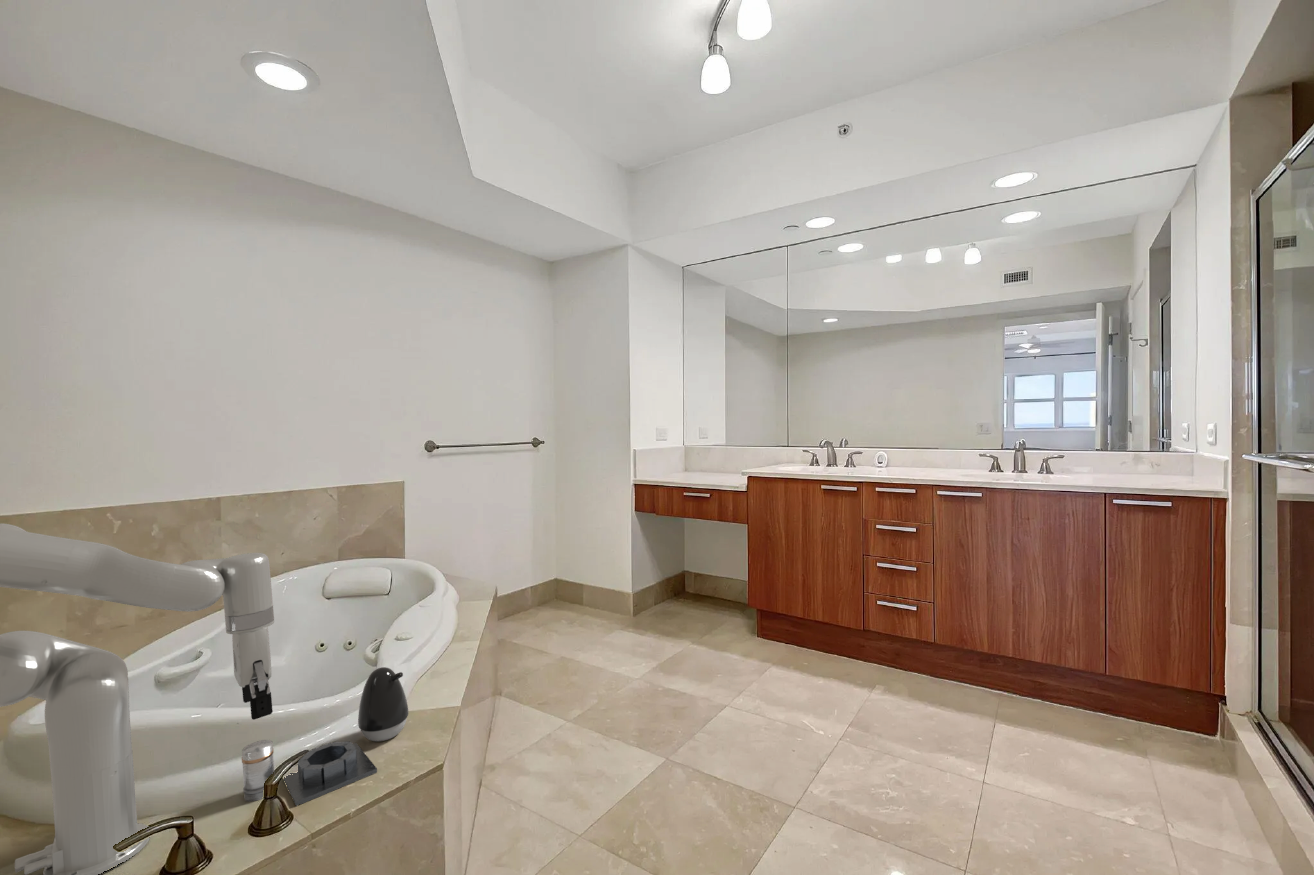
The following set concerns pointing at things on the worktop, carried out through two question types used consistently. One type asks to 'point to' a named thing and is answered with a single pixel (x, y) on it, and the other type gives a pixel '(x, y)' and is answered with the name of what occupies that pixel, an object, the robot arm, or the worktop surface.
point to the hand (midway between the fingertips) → (257, 707)
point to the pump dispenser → (382, 705)
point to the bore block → (328, 770)
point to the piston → (257, 768)
